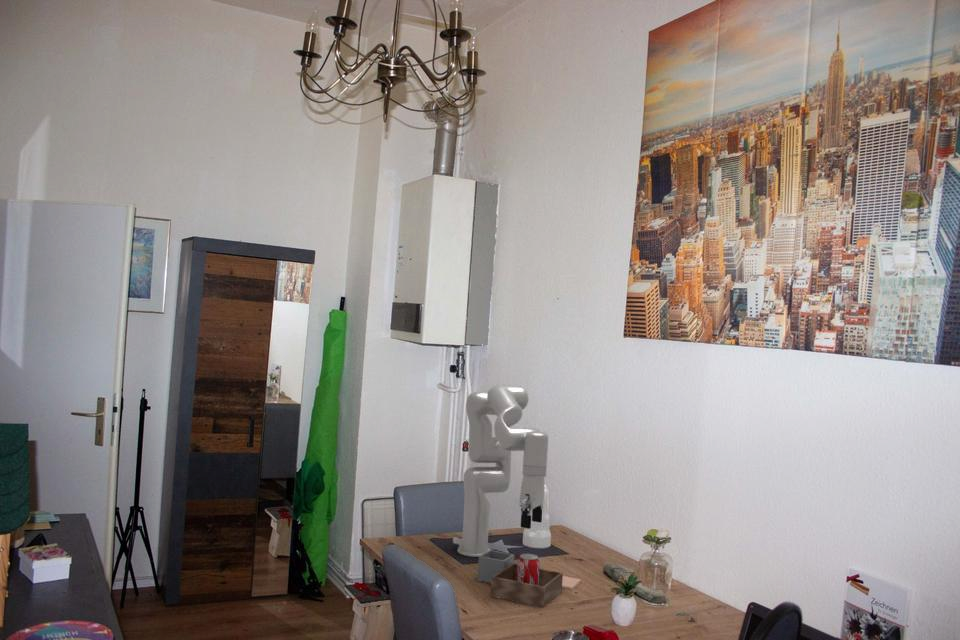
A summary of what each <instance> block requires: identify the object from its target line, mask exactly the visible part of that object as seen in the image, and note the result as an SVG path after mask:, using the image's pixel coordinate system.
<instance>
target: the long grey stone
mask: <svg viewBox="0 0 960 640" xmlns="http://www.w3.org/2000/svg"><path fill="white" fill-rule="evenodd" d="M602 570H603V571H604V572H606V575H608V577H610V578H611V580H612V579H613V581H615V582H618V580H619V579H620V575H622V576H623V578H624V580H627V579H628V577H629V576H630V575H631V574H632V573H633V572H635V573H636V574H637V572H638V571H637V572H636V570H634V568H631V567H629V566H626V565H623V564H619V563H618V562H612V561H606V562H604V563H603V568H602ZM637 577H638V576H637ZM635 595H637V596H639V597H640V598H642V599H643V600H646V601H648V602H651V603H655V604H664V603H665V602H666V600H667V599H666V598H667V597H666V594H665V592H664V591H663V590H662V589H660V590H656V589H650V588H648V587H646V586H643V585H642V584H641V583H639V584H638V585H637V586H636V593H635Z"/></svg>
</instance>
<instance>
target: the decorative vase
mask: <svg viewBox="0 0 960 640" xmlns="http://www.w3.org/2000/svg"><path fill="white" fill-rule="evenodd" d="M542 505H543V509H542V522H534V521H532V511H531V514H530V515H531V528H530V529H528V528H523V531H522V532H523V533H522V545H523V546H525V547H528V548H532V549H546V548H547V549H548V548H549V547H550V546H552V545H551V544H552V542H551V541H552V534H551V531H550V523H551V522H550V521H551V519H550V491H549V489H548V487H547V485H546V484H544V500H543V504H542ZM529 506H530V505H529ZM534 509H535V508H534ZM532 510H533V509H532ZM528 511H529V509H528Z"/></svg>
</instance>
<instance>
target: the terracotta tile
mask: <svg viewBox="0 0 960 640" xmlns="http://www.w3.org/2000/svg"><path fill="white" fill-rule="evenodd" d="M580 582H581V583H582V579H580V578H576V577H575V578H574V577H570V576H566V575H565V576H564V575H563V581H562V589H564V588H565V590H569V591H573V590H574V589H575V588H576V587H578V586H579V584H580Z"/></svg>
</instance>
